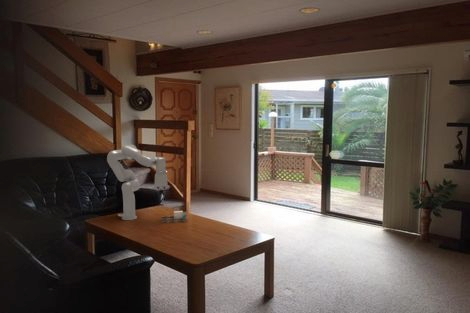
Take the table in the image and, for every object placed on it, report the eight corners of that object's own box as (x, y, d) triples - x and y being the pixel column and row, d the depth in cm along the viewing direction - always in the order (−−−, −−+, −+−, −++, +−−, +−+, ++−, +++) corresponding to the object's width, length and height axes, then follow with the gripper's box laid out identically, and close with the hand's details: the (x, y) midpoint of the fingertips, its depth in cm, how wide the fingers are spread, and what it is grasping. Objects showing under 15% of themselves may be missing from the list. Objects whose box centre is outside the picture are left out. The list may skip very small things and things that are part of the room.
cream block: (174, 219, 318) (174, 212, 318) (174, 218, 323) (173, 211, 322) (182, 219, 320) (182, 212, 319) (182, 217, 324) (182, 210, 323)
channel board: (161, 223, 313) (161, 216, 312) (161, 219, 325) (161, 213, 324) (186, 222, 316) (186, 215, 316) (185, 218, 328) (185, 212, 328)
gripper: (170, 171, 320) (170, 193, 322) (151, 172, 317) (152, 194, 319) (170, 172, 313) (170, 195, 314) (151, 173, 310) (151, 196, 312)
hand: (161, 194), depth 317 cm, fingers closed
